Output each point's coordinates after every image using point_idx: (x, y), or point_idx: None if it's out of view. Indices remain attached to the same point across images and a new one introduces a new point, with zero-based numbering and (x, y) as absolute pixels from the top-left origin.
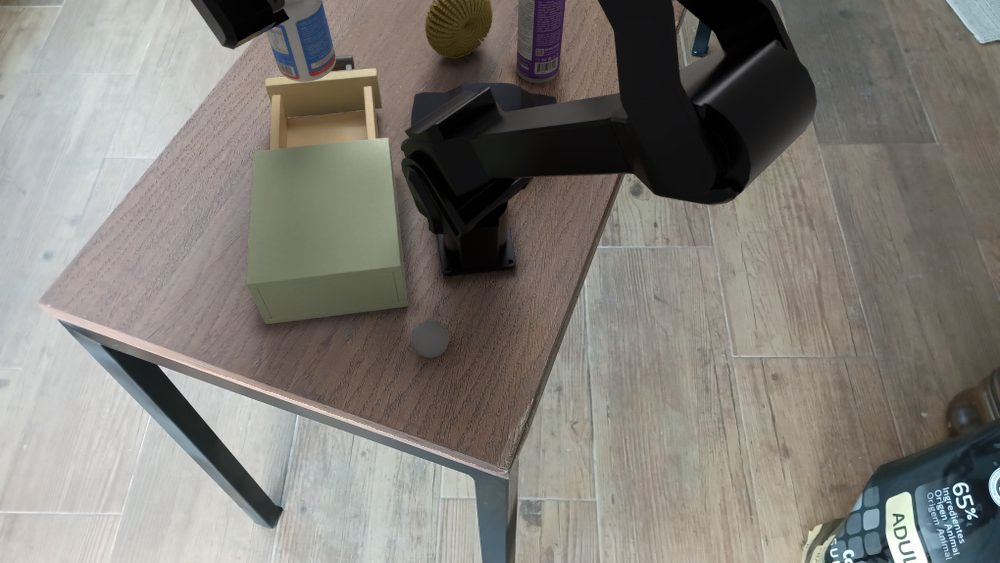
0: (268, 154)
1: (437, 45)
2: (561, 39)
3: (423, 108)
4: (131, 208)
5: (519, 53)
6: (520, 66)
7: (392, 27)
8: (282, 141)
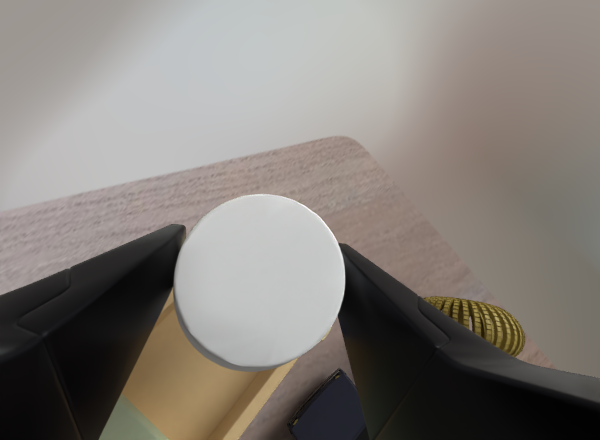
0: None
1: None
2: None
3: (329, 411)
4: (6, 217)
5: None
6: None
7: (403, 232)
8: (156, 322)
